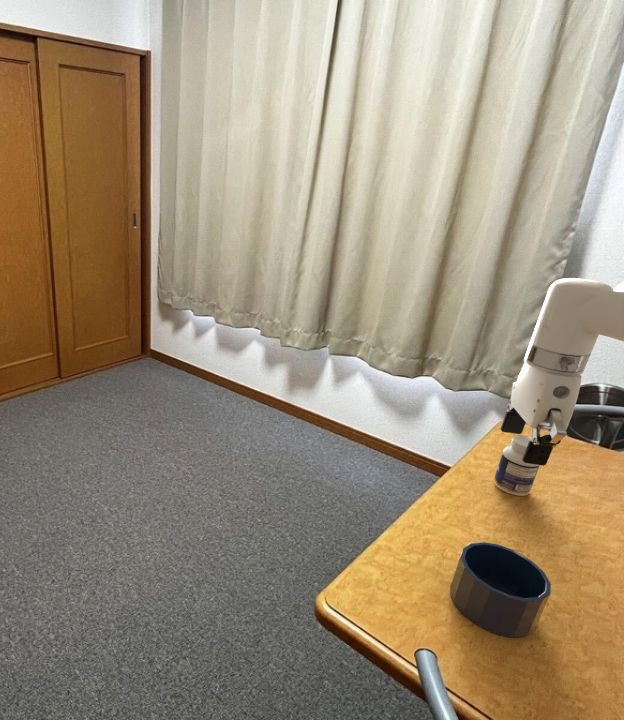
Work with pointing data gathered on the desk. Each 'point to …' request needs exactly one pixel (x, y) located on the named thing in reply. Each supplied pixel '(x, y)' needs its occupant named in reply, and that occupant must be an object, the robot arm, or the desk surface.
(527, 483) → the pill bottle
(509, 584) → the bowl
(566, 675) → the desk surface
